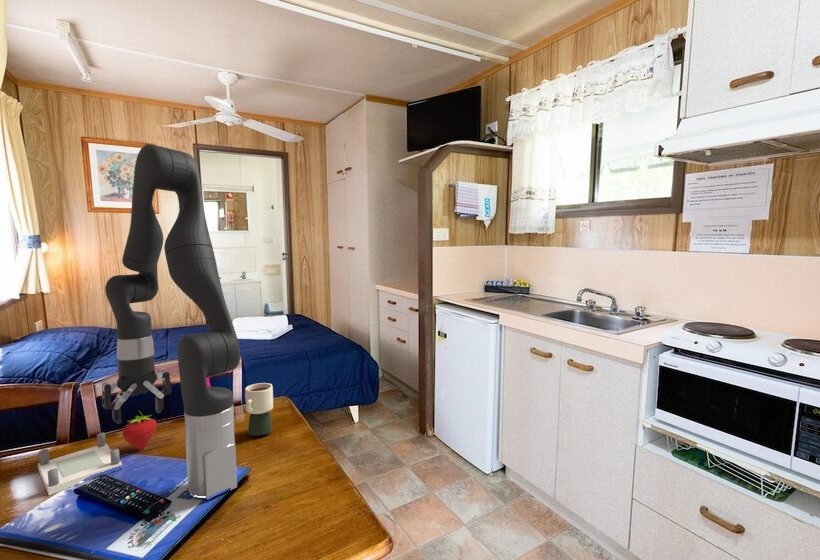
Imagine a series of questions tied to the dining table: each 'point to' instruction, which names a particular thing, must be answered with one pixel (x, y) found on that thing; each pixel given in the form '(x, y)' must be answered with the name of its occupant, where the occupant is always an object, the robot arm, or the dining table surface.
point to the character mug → (259, 408)
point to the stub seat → (76, 465)
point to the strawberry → (139, 431)
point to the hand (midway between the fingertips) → (139, 417)
